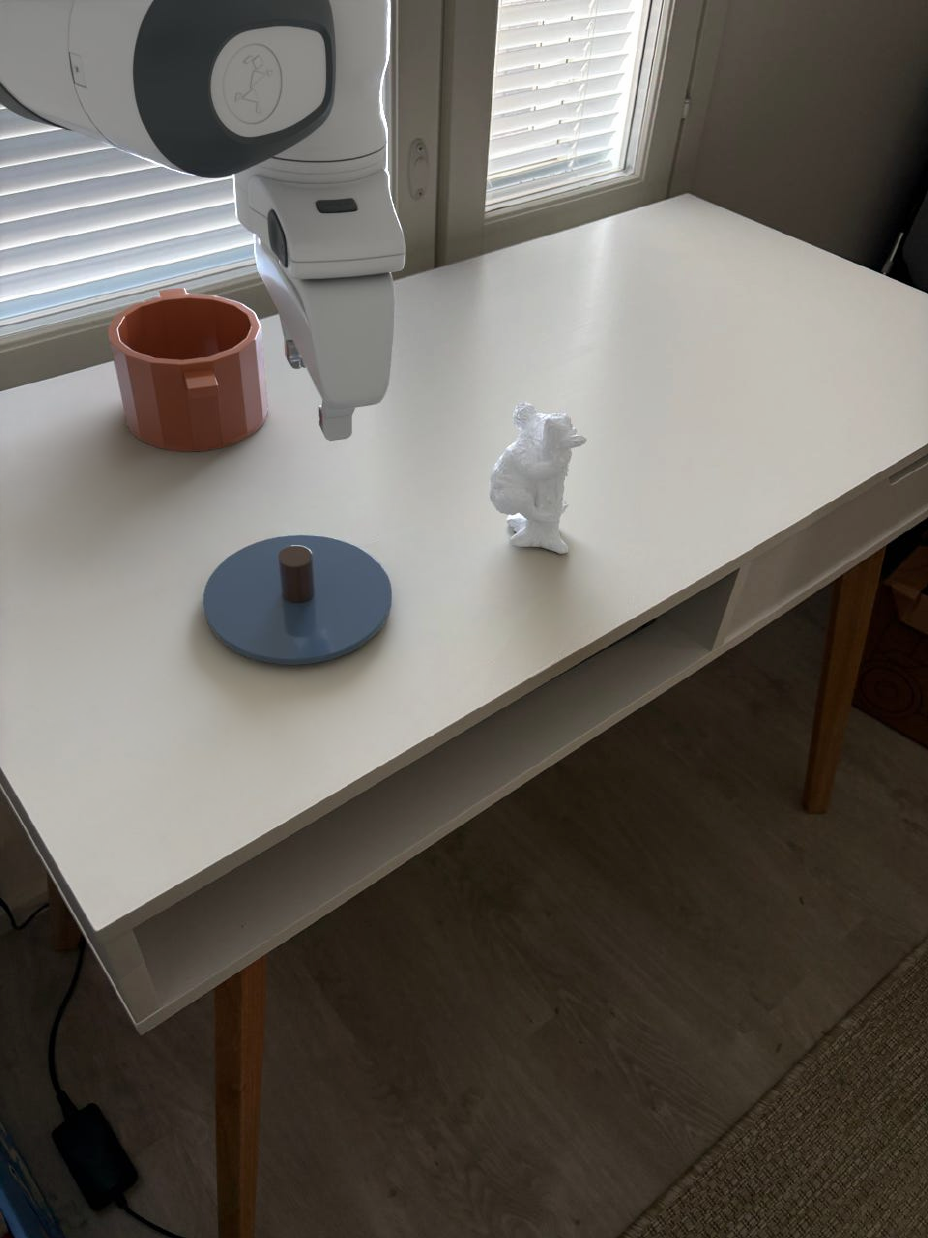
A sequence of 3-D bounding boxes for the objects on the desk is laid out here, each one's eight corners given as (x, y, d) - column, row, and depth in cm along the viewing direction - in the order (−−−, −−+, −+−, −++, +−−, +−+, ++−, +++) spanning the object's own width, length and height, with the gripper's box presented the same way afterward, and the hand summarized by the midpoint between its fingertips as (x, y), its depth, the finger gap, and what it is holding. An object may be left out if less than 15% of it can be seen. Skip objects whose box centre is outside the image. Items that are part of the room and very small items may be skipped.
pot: (138, 478, 85) (120, 389, 79) (115, 372, 97) (98, 288, 91) (286, 456, 88) (280, 369, 82) (247, 357, 100) (238, 274, 94)
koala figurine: (594, 556, 80) (618, 427, 72) (518, 575, 78) (533, 443, 70) (547, 496, 86) (564, 370, 78) (474, 512, 84) (484, 383, 76)
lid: (222, 689, 68) (214, 639, 65) (191, 563, 77) (182, 514, 74) (415, 648, 72) (416, 599, 69) (363, 533, 81) (362, 485, 78)
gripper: (222, 131, 65) (239, 330, 74) (298, 263, 51) (307, 488, 60) (318, 127, 67) (323, 322, 76) (416, 254, 53) (407, 473, 62)
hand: (316, 397), depth 68 cm, fingers open, 8 cm apart
